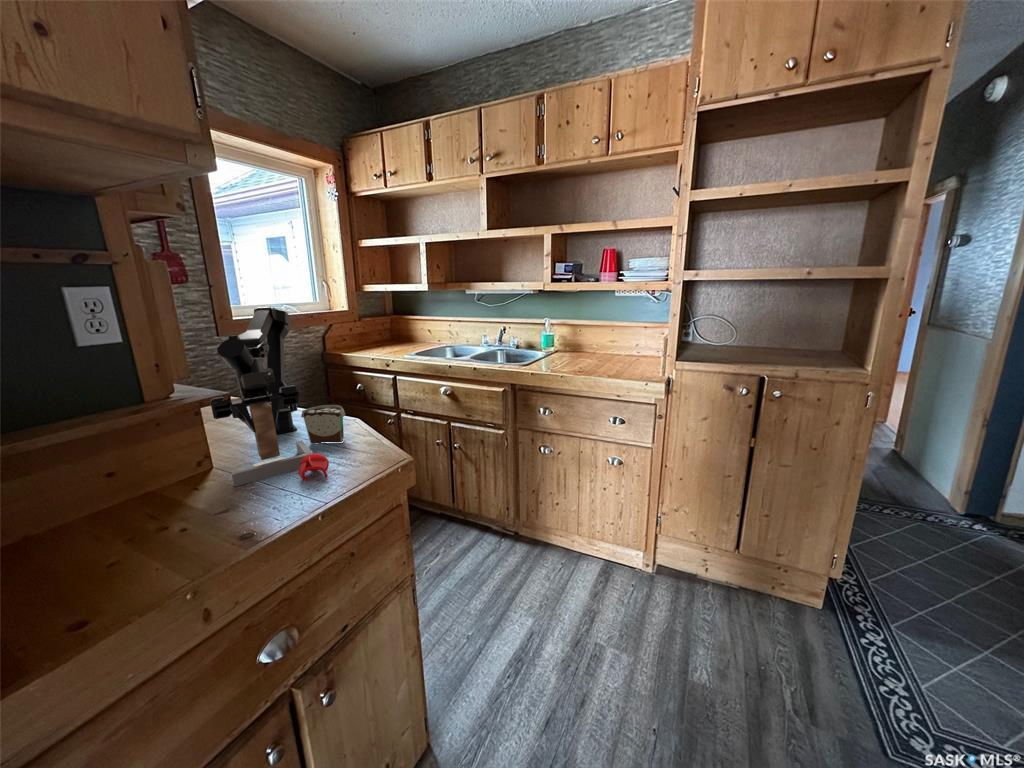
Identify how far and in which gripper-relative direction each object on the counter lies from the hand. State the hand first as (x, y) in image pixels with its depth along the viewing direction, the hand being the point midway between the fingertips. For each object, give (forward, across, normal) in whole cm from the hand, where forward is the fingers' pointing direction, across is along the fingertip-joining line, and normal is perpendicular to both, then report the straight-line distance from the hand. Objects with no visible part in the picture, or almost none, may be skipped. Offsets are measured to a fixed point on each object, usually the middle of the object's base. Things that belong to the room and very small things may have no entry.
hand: (265, 429), depth 100 cm
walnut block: (+4, 0, +6) cm, 7 cm away
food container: (0, +17, +15) cm, 23 cm away
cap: (+16, +7, -2) cm, 18 cm away
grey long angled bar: (+6, 0, +8) cm, 10 cm away
